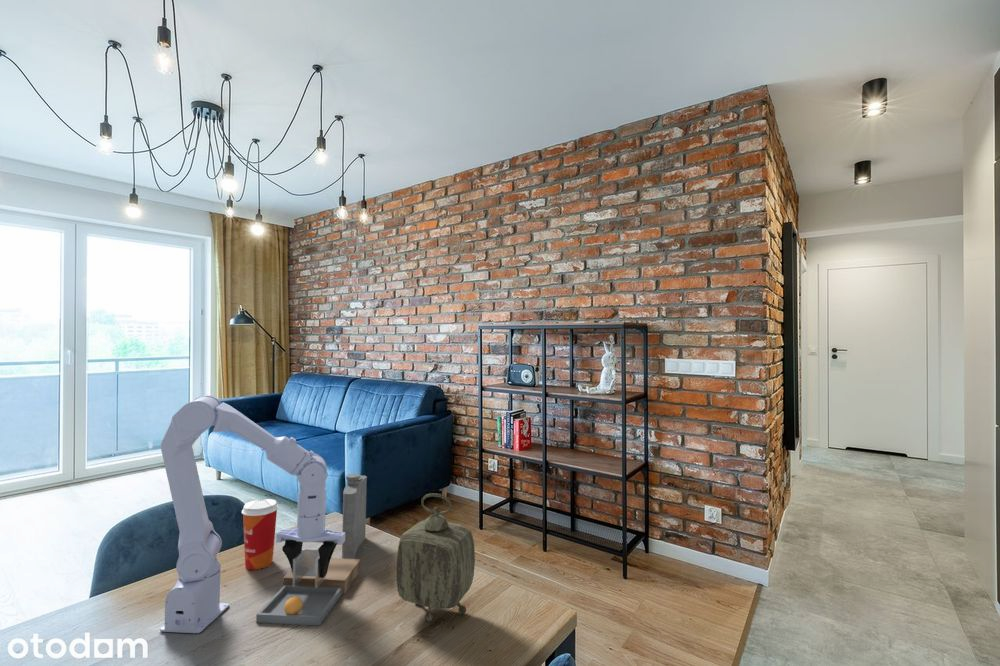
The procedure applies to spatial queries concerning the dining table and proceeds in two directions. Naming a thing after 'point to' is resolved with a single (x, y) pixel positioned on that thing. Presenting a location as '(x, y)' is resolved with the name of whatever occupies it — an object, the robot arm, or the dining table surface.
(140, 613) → the dining table surface
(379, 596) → the dining table surface
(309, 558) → the grey arch
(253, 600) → the dining table surface
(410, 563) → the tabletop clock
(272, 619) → the tray
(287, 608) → the ball
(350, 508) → the hip flask
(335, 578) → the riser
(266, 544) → the coffee cup
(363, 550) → the dining table surface
